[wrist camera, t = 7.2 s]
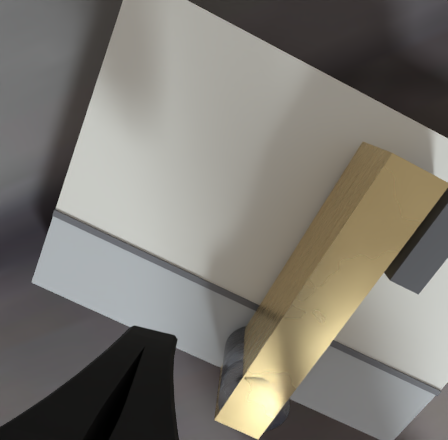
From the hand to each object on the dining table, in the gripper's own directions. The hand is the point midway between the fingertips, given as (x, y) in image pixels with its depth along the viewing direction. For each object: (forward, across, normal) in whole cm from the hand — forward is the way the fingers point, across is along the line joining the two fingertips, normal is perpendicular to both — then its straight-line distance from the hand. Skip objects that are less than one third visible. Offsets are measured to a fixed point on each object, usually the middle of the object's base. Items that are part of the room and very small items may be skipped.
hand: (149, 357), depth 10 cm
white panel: (+8, -4, -2) cm, 10 cm away
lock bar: (+6, -5, -1) cm, 8 cm away
